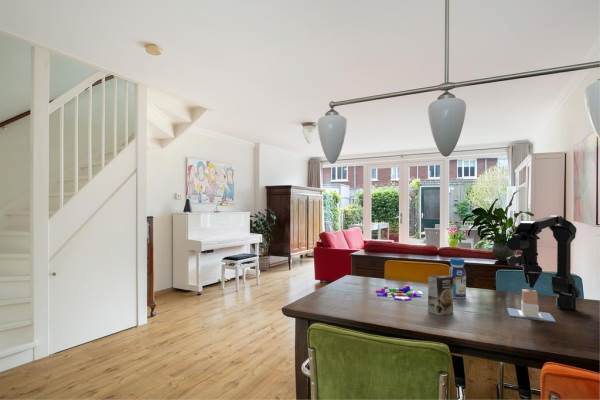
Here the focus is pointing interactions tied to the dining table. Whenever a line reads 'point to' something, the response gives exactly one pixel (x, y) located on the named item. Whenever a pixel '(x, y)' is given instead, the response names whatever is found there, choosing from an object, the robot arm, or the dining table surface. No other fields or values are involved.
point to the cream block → (529, 309)
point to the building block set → (395, 291)
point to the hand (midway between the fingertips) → (529, 285)
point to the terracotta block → (529, 296)
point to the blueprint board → (542, 316)
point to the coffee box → (440, 294)
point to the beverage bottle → (458, 277)
